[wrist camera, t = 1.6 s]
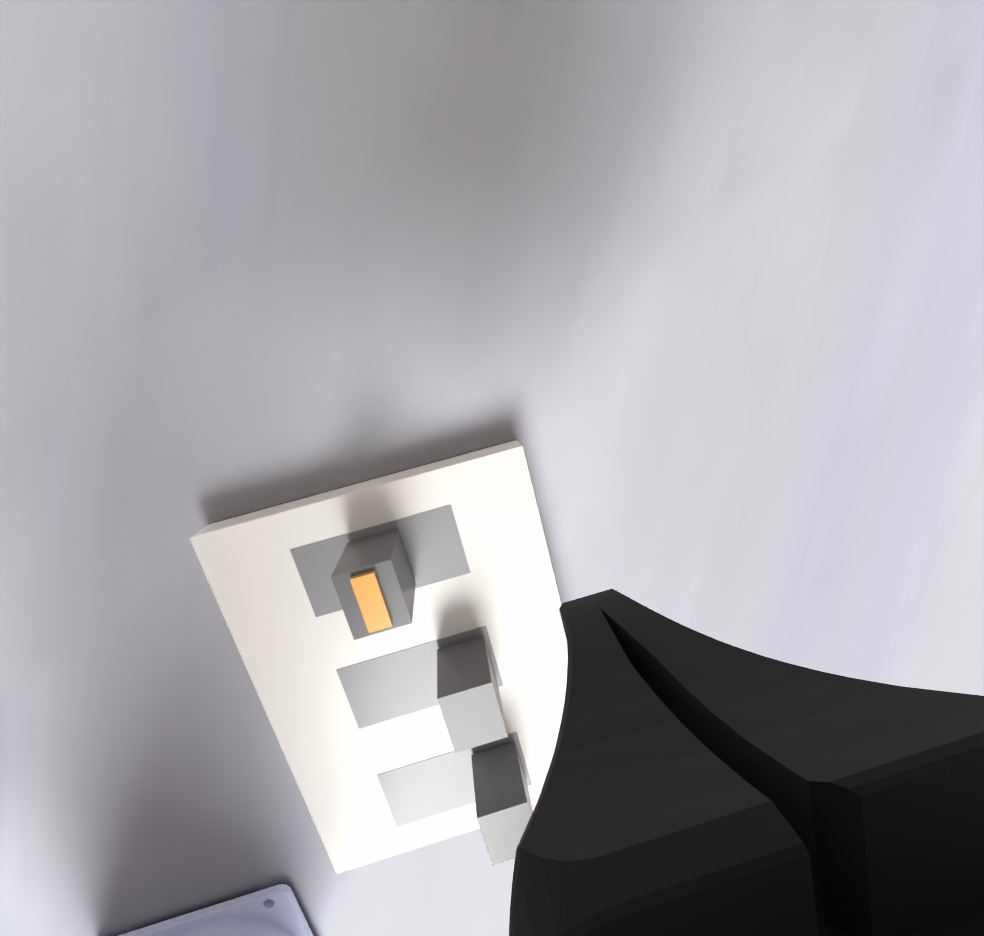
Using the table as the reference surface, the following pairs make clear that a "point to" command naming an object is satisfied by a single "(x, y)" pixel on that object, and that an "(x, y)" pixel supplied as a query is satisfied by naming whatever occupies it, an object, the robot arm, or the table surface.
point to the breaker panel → (405, 654)
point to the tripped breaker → (375, 584)
